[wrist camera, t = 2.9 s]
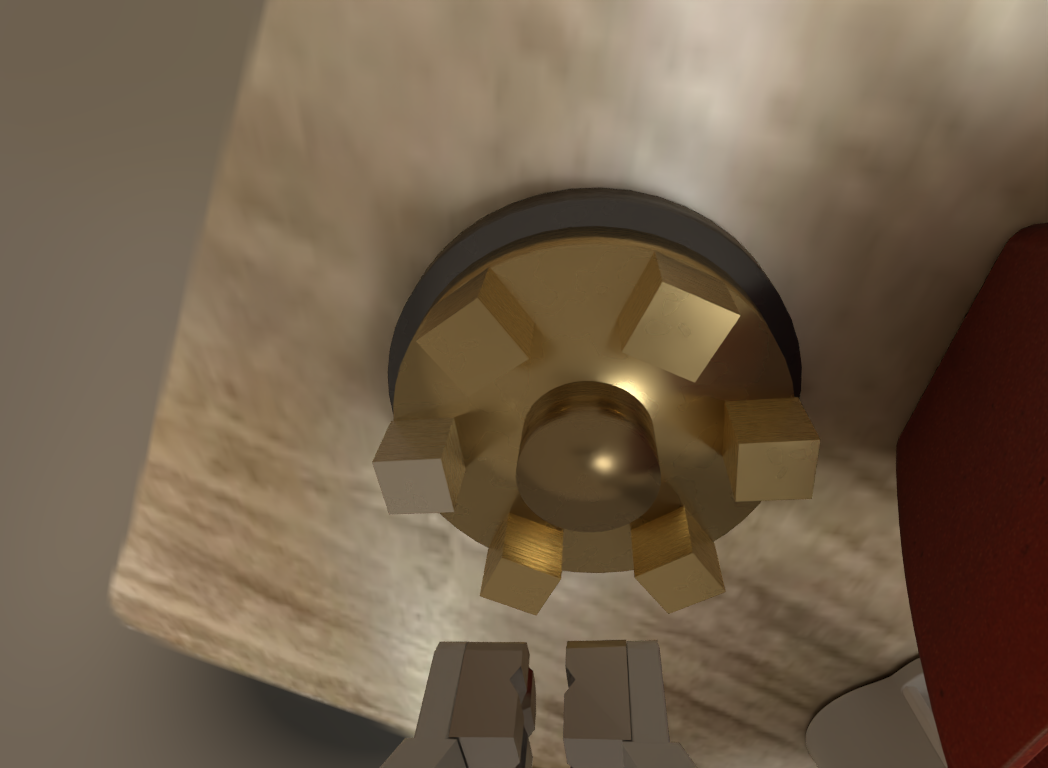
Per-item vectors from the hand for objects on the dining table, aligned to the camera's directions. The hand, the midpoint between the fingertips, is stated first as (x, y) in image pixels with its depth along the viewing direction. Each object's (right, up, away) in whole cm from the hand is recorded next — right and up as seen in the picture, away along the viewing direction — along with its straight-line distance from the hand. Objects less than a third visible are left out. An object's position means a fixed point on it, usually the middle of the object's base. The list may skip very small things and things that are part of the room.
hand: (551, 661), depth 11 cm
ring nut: (+3, +4, +20) cm, 20 cm away
